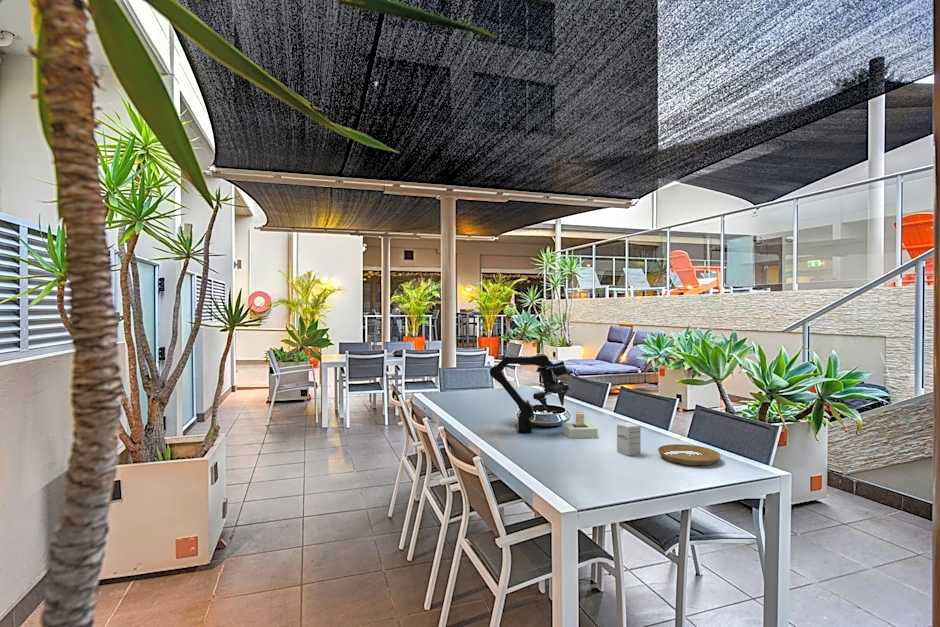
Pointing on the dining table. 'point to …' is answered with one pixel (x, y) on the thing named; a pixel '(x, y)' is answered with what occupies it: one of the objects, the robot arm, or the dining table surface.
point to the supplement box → (628, 438)
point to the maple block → (579, 419)
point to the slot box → (580, 430)
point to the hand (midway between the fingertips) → (555, 408)
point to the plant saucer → (683, 458)
